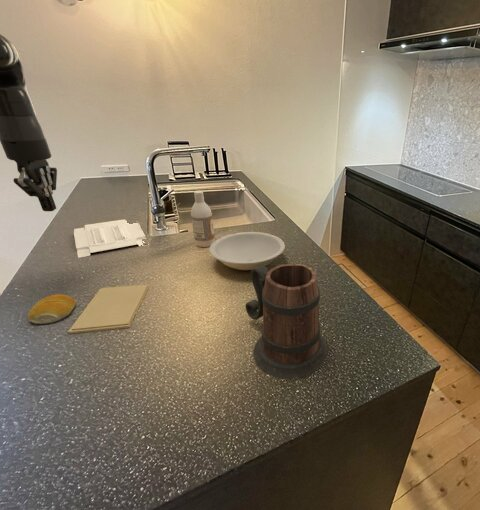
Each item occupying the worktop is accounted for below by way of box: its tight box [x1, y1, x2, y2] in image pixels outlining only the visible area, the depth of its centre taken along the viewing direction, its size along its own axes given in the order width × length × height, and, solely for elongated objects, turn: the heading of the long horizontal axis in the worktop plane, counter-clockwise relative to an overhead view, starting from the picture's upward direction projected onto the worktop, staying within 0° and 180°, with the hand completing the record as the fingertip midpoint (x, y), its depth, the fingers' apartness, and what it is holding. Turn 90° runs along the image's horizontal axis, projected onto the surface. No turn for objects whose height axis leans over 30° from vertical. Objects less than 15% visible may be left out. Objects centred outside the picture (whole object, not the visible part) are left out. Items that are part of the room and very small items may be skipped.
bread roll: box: [27, 293, 77, 325], centre depth 74 cm, size 8×9×4 cm
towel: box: [67, 284, 150, 335], centre depth 78 cm, size 12×18×1 cm, turn 15°
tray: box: [73, 219, 150, 259], centre depth 114 cm, size 20×28×4 cm
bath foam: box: [190, 190, 216, 248], centre depth 110 cm, size 7×7×20 cm
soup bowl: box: [209, 231, 286, 271], centre depth 103 cm, size 24×24×7 cm
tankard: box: [245, 263, 329, 380], centre depth 68 cm, size 24×17×20 cm
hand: (50, 210), depth 76 cm, fingers closed
